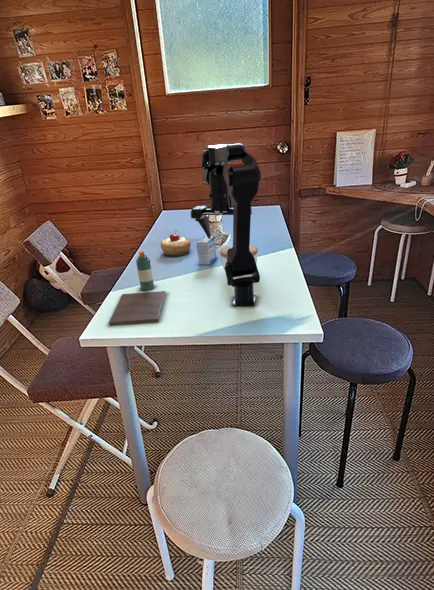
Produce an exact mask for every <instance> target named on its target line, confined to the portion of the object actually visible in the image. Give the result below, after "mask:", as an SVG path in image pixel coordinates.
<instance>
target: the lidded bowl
mask: <svg viewBox="0 0 434 590" xmlns="http://www.w3.org/2000/svg"><path fill="white" fill-rule="evenodd" d="M232 247H233V243H231V244H228V245H224V246H223V247H221V248H220V250H219V254H220V262H221V265H222V268H223V270H224V271H225V264H226V262H227V250H228V249H230V248H232ZM249 250H250V252H251V253H252V255H253V256H254V258H255V262H256V265H257V264H258V247H257V246H256V245H254V244H251V243H250V246H249ZM247 276H251V274H250V275H244V276H238V277H233V279H235V278H241V277H247Z"/></svg>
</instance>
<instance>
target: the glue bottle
mask: <svg viewBox="0 0 434 590" xmlns="http://www.w3.org/2000/svg"><path fill="white" fill-rule="evenodd" d="M135 263H136V269H137V276H138V281H139V286H140V289H141V290H142V291H151V290H153V289H154V288H155V285H154V277H153V276H154V275H153V271H152V265H151V259H150V257H148V255H146V254H145V251H144V250H142V251H139V252H138V256H137V258H136V260H135Z"/></svg>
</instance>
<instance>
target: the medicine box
mask: <svg viewBox="0 0 434 590" xmlns="http://www.w3.org/2000/svg"><path fill="white" fill-rule="evenodd" d="M196 250H197V258H198V265H200V266H201V265H202V266H210V265H211V264H212V263H213V262H214V261H215V260H216V259H217V249H216V238H215V235H211V238H210V239H208V237H207V235H205V236H203V237H202V238H201V239H200V240H198V241H197V242H196Z"/></svg>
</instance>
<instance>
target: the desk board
mask: <svg viewBox="0 0 434 590" xmlns="http://www.w3.org/2000/svg"><path fill="white" fill-rule="evenodd" d="M166 294H167V292H166V290H158V291H145V292H133V293H122V294H121V296H120V298H119V300H118V302H117V305H116V307H115V309H114V311H113V313H112V315H111V317H110V318H109V321H108V324H109V326H119V325H134V324H135V325H136V324H148V323H159V321H160V317H161V313H162V309H163V306H164V302H165V298H166Z"/></svg>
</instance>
